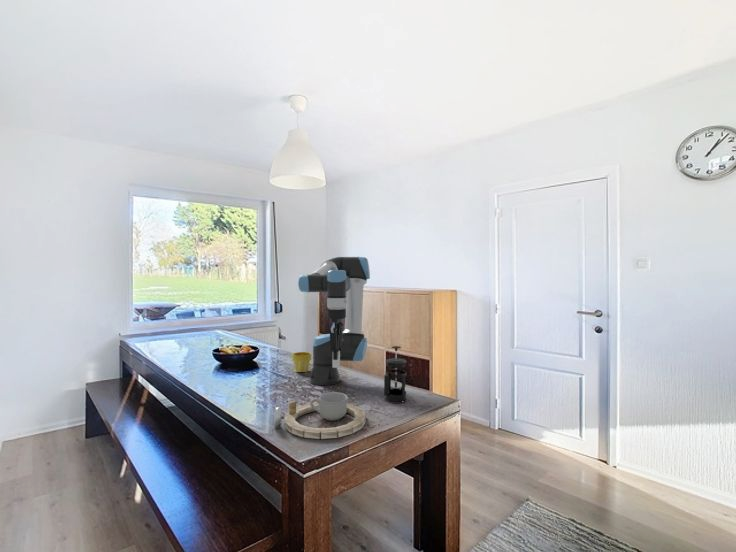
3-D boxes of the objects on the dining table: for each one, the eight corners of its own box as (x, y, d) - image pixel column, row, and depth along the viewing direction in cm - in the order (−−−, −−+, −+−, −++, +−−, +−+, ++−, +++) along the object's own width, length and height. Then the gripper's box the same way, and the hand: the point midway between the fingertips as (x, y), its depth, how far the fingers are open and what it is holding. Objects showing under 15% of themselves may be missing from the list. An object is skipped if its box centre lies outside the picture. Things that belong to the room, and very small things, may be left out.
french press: (396, 394, 169) (396, 343, 169) (412, 399, 162) (412, 346, 162) (377, 400, 161) (378, 346, 161) (393, 406, 154) (394, 350, 154)
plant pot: (305, 367, 214) (305, 350, 214) (314, 371, 206) (314, 353, 206) (288, 370, 207) (288, 353, 207) (298, 374, 199) (298, 356, 199)
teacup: (349, 412, 146) (349, 392, 146) (344, 424, 136) (345, 402, 136) (314, 411, 148) (314, 391, 148) (307, 422, 137) (307, 400, 137)
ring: (302, 404, 154) (302, 389, 154) (371, 409, 149) (371, 394, 149) (270, 434, 126) (270, 416, 126) (354, 442, 120) (355, 423, 120)
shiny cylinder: (276, 425, 133) (276, 406, 133) (284, 426, 133) (284, 407, 133) (273, 428, 131) (273, 408, 131) (281, 429, 130) (281, 409, 130)
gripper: (341, 310, 143) (340, 371, 144) (349, 307, 156) (349, 363, 156) (322, 309, 145) (322, 370, 145) (332, 306, 158) (331, 362, 158)
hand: (336, 367), depth 151 cm, fingers closed
